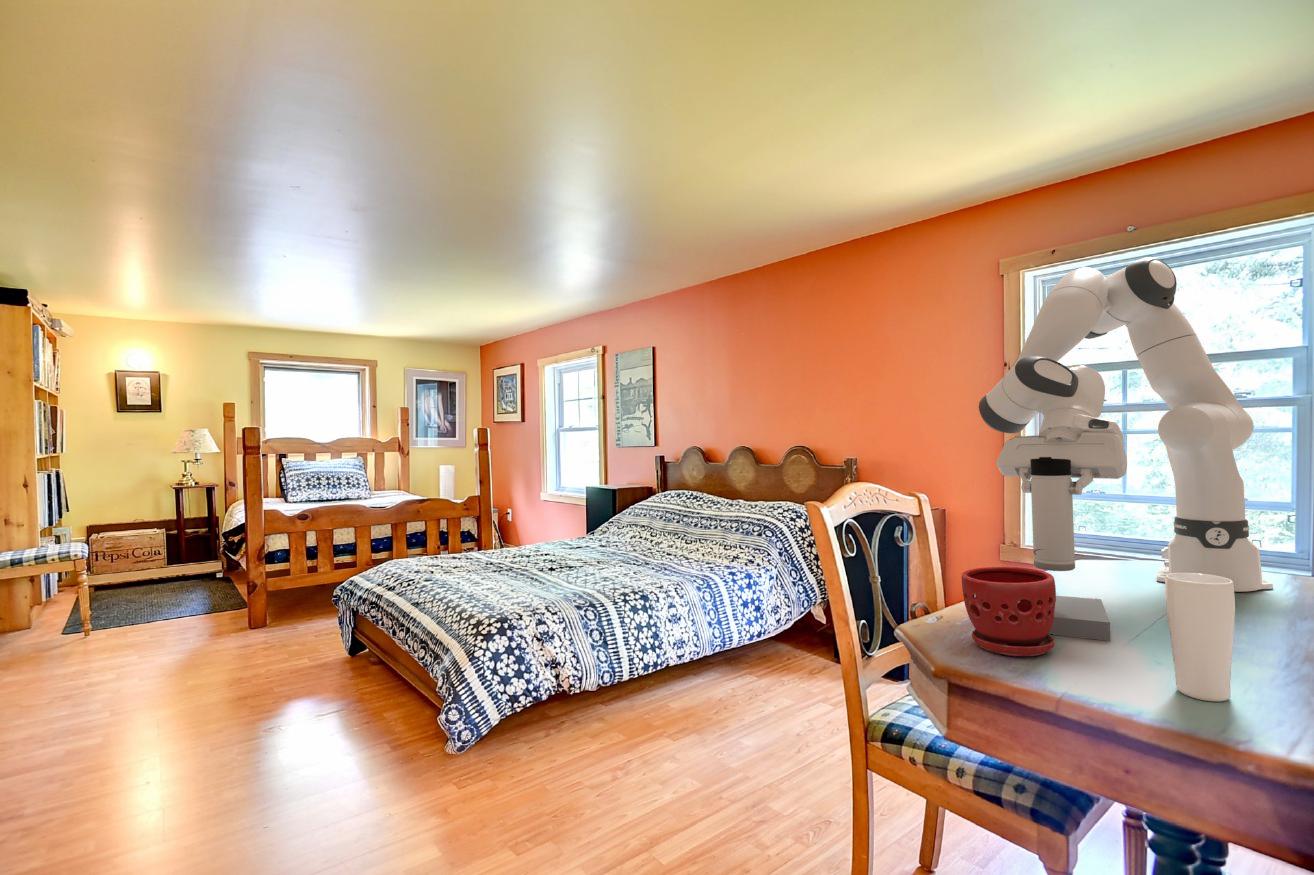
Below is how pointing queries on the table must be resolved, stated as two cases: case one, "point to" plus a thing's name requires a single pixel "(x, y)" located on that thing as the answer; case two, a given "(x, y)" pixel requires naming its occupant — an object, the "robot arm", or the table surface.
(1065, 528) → the travel mug
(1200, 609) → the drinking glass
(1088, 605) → the gray rectangular block
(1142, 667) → the table surface
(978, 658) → the table surface
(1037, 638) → the plant pot
